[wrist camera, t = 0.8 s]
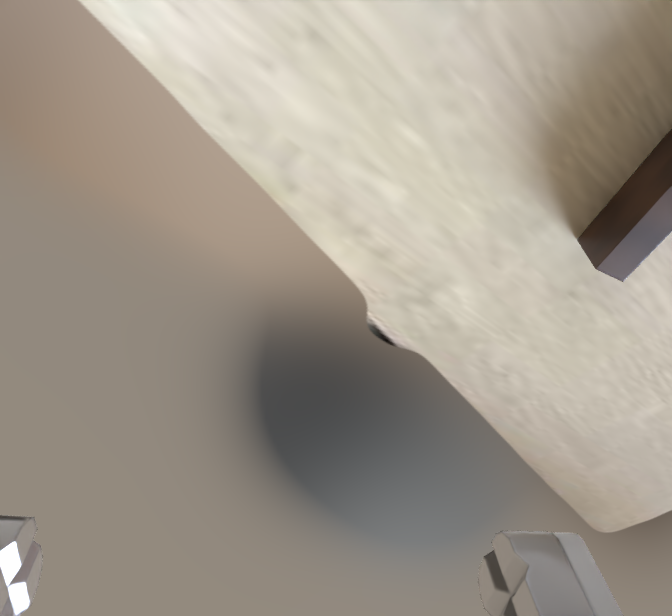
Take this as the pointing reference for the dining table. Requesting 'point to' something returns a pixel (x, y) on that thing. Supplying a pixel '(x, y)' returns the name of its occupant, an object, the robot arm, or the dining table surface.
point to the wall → (633, 217)
